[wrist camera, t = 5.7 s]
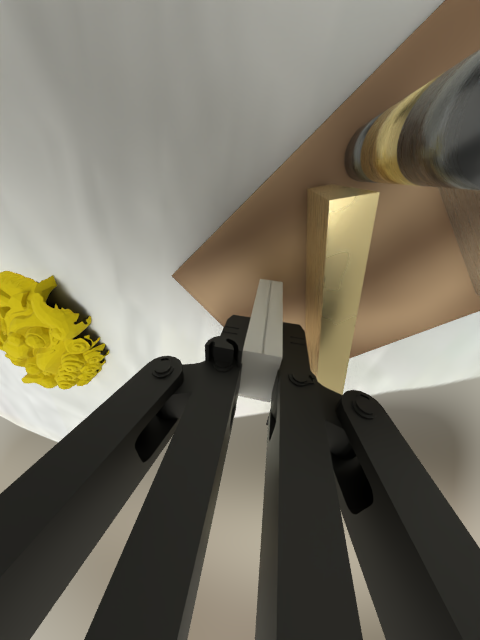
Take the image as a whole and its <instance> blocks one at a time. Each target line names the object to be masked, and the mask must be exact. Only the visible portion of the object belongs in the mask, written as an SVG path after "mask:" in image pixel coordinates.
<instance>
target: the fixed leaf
mask: <svg viewBox="0 0 480 640" xmlns="http://www.w3.org/2000/svg"><path fill="white" fill-rule="evenodd" d="M387 110H388V109H387ZM384 112H385V111H384ZM384 112H383V113H384ZM383 113H381V114H380V115H382V114H383ZM380 115H378V116H377V117H375V118H374V119H372V120H371V121H369V122H367V123H366V124H364V125H363V126H362V127H361V128H359V129H358V130H357V131H356V133H355V134H354V135H353V136H352V138H351V140H350V141H349V143H348V145H347V148H346V151H345V156H344V166H345V170H346V172H347V174H348V175H349V177H350V178H352V179H353V180H355V181H359V182H371V183H377V182H374V181H372V180H370V179H369V178H368V177H367V176H366V175H365V174H364V172H363V170H362V167H361V161H360V156H361V148H362V145H363V142H364V139H365V137H366V135H367V133H368V131H369V129H370V128H371V126H372V125H373V123H374V122H375V121H376V120H377V119H378V117H379V116H380ZM397 162H398V166H399V169H400V171H401V173H402V175H403V176H404V177H405V178H406V179H407V180H408V181H409V182H411V183H413V184H416V185H419V186H426V187H438V189H439V192H440V195H441V198H442V201H443V203H444V206H445V209H446V212H447V215H448V217H449V220H450V223H451V226H452V229H453V231H454V234H455V237H456V240H457V243H458V246H459V248H460V251H461V254H462V257H463V260H464V262H465V265H466V268H467V271H468V274H469V276H470V279H471V282H472V285H473V288H474V291H475V293H476V294H477V295H478V296H480V49H479V50H478V51H476V52H475V53H473V54H472V55H470V56H469V57H467V58H465V59H464V60H462V61H461V62H459V63H458V64H456V65H455V66H453V67H452V68H450V69H449V70H447V71H446V72H444V73H443V74H442V75H441V76H439V77H438V78H437V79H436V80H435V81H434V82H433V83H432V84H431V85H430V86H429V87H428V88H427V89H426V90H425V91H424V92H423V93H422V95H421V96H420V97H419V99H418V100H417V101H416V103H415V104H414V106H413V107H412V109H411V110H410V112H409V114H408V116H407V118H406V120H405V122H404V124H403V126H402V129H401V132H400V135H399V139H398V144H397Z"/></svg>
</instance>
